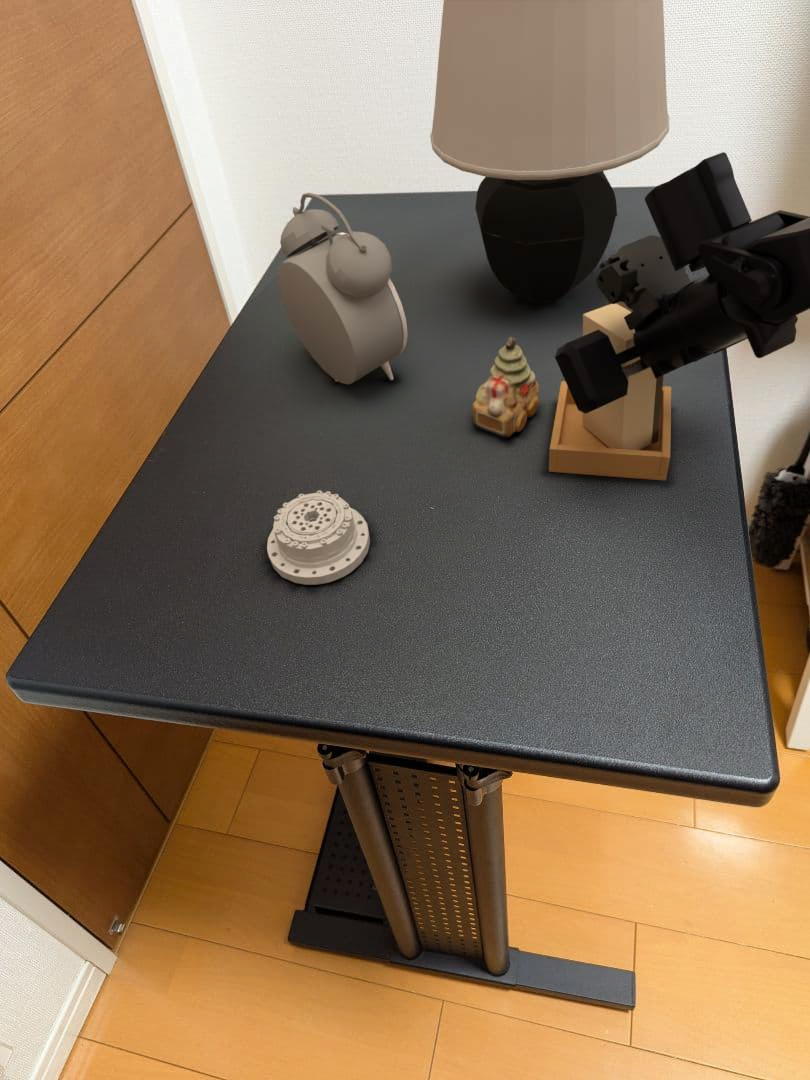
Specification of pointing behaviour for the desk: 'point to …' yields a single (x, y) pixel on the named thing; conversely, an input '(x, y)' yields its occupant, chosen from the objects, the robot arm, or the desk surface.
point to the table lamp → (548, 125)
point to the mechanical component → (317, 539)
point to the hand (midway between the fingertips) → (607, 368)
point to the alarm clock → (340, 294)
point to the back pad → (639, 410)
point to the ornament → (507, 393)
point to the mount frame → (593, 457)
